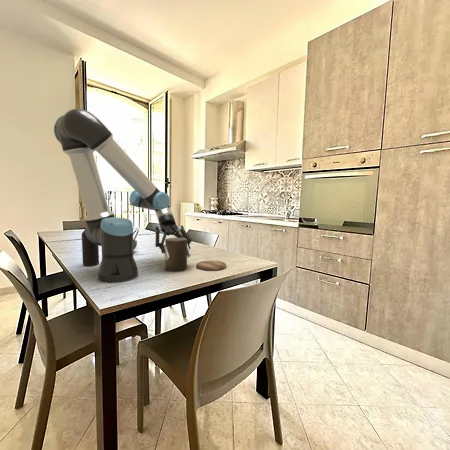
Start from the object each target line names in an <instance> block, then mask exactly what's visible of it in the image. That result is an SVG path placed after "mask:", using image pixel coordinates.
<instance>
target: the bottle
mask: <svg viewBox="0 0 450 450" xmlns="http://www.w3.org/2000/svg"><path fill="white" fill-rule="evenodd" d="M83 229H84V230H83V231H82V232H81V249H82V250H81V251H82V252H81V253H82V255H81V256H82V266H84V267H95V266H97V265H98V266H99V265H100V253H99V250H100V249H99V247H100V246H99V245H96V244H94V243H92V242H91V241H90V240H89V239H88V238H87V236H86V223H85V221H84V222H83Z"/></svg>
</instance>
